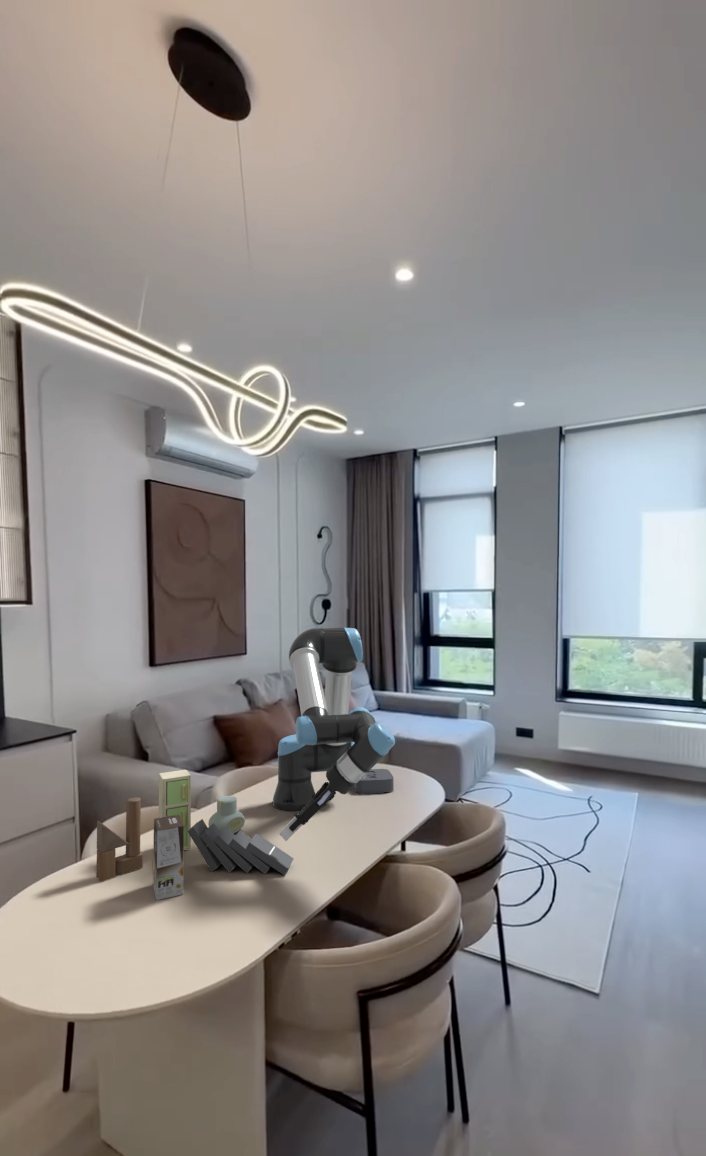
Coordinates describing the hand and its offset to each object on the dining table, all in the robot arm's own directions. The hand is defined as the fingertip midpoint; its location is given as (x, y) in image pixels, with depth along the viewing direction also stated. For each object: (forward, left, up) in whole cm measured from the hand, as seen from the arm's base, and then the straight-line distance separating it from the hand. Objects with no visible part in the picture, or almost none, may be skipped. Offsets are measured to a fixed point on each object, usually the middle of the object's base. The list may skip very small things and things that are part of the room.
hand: (283, 836), depth 149 cm
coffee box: (-6, -28, -9) cm, 30 cm away
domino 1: (-11, -13, -8) cm, 19 cm away
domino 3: (-5, -6, -8) cm, 11 cm away
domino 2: (-8, -10, -8) cm, 15 cm away
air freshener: (-33, -3, -9) cm, 35 cm away
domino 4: (-2, -3, -8) cm, 8 cm away
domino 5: (+1, +1, -8) cm, 8 cm away
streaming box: (-44, +59, -9) cm, 74 cm away
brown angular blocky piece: (-22, -36, -9) cm, 43 cm away
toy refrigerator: (-29, -20, -9) cm, 37 cm away
